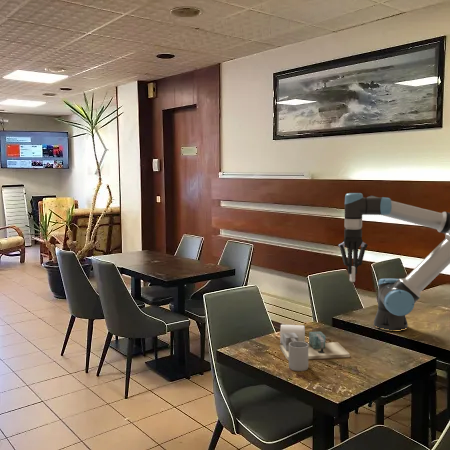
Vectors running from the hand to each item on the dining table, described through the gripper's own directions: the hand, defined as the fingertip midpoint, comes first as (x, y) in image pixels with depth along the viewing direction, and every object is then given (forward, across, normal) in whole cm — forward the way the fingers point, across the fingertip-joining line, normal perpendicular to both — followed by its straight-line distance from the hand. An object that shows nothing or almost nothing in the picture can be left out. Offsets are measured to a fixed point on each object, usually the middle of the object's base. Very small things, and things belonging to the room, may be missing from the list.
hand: (352, 281), depth 216 cm
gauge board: (+24, +23, +19) cm, 39 cm away
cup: (+25, +34, +32) cm, 53 cm away
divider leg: (+23, +21, +18) cm, 36 cm away
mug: (+25, +28, +6) cm, 38 cm away
